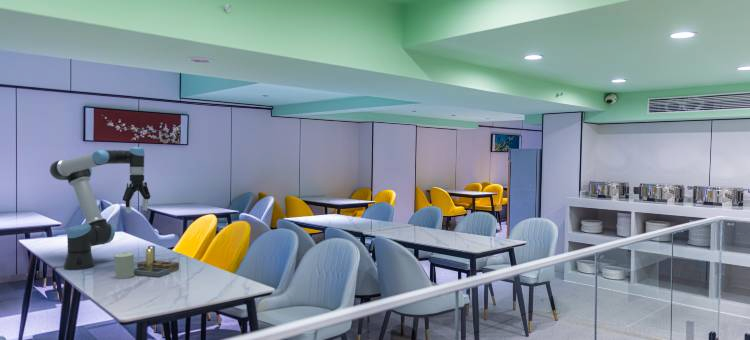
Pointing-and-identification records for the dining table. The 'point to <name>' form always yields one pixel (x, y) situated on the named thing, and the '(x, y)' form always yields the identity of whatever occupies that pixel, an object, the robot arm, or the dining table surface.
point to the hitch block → (162, 265)
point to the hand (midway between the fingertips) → (137, 211)
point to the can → (124, 265)
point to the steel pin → (153, 252)
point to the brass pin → (149, 260)
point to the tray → (156, 272)
